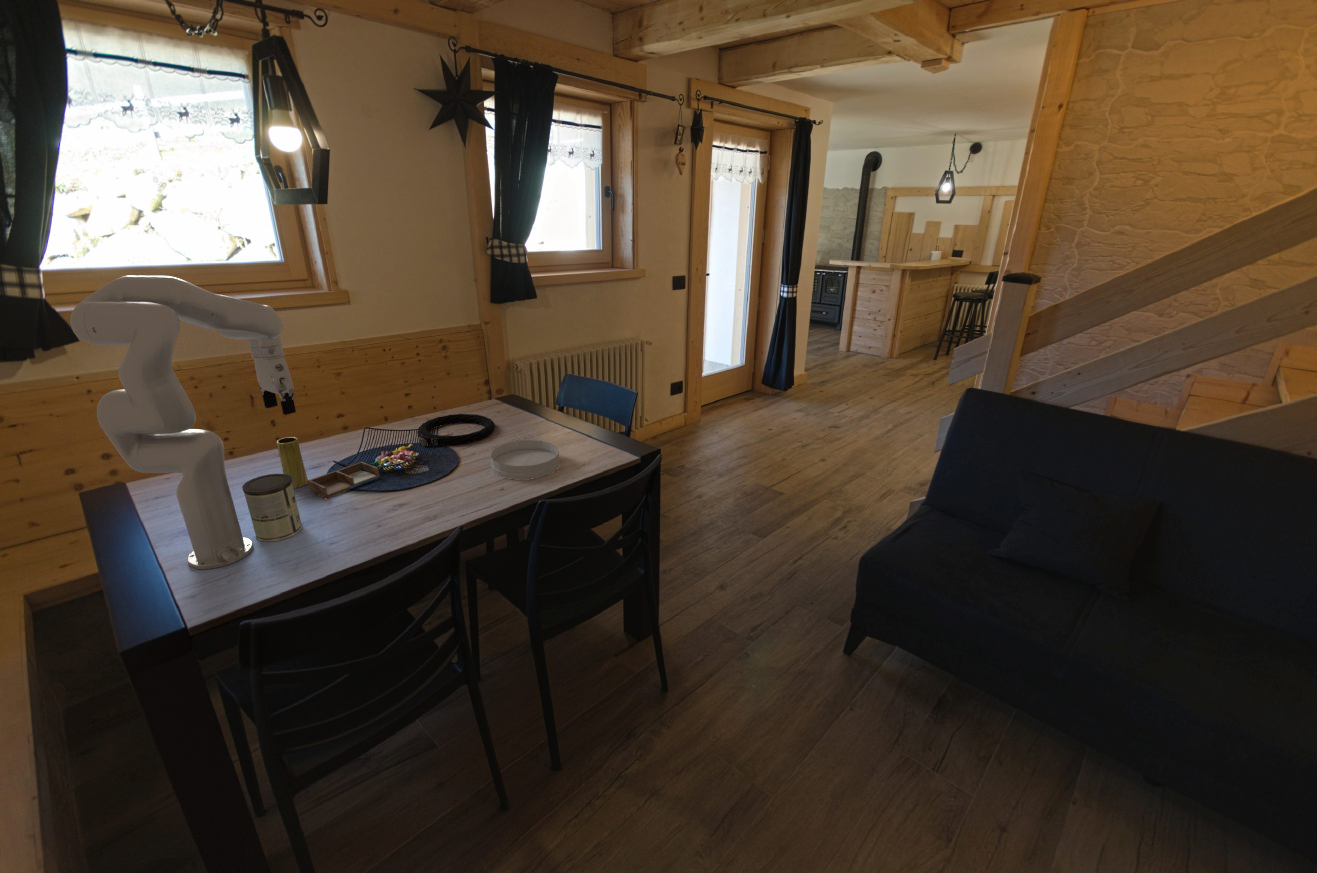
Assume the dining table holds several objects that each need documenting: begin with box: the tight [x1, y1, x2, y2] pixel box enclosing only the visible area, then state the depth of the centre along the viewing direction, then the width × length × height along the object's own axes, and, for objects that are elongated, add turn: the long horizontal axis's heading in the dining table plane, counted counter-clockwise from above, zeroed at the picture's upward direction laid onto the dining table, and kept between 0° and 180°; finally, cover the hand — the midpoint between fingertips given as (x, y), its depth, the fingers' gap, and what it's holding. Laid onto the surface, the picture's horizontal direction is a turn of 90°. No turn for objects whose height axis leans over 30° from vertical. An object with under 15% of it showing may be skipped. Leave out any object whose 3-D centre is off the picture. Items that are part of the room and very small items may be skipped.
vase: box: [276, 436, 309, 489], centre depth 171 cm, size 6×6×14 cm
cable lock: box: [416, 413, 496, 447], centre depth 215 cm, size 28×4×30 cm
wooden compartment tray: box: [307, 461, 380, 499], centre depth 173 cm, size 8×17×4 cm, turn 148°
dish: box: [490, 439, 561, 480], centre depth 189 cm, size 22×22×5 cm
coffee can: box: [242, 473, 303, 543], centre depth 146 cm, size 10×10×14 cm
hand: (280, 410), depth 165 cm, fingers open, 9 cm apart
